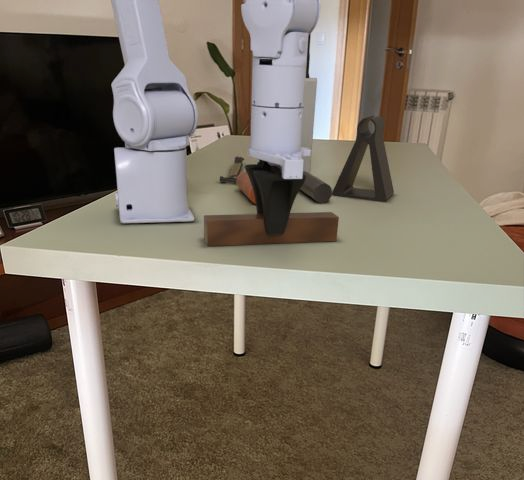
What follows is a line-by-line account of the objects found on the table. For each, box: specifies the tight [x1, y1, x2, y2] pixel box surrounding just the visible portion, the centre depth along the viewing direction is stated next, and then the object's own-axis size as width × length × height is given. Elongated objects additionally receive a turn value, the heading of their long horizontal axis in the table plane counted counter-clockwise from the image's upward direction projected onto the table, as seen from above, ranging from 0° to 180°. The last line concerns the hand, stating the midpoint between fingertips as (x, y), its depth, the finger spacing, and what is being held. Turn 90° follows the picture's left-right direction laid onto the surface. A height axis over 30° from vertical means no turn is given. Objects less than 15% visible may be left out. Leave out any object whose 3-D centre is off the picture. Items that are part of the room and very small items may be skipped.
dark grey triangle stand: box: [332, 115, 395, 203], centre depth 89 cm, size 9×6×12 cm, turn 66°
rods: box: [235, 171, 333, 205], centre depth 88 cm, size 13×10×3 cm
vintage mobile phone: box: [301, 33, 318, 174], centre depth 96 cm, size 4×5×25 cm
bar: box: [203, 211, 340, 247], centre depth 67 cm, size 16×2×3 cm, turn 104°
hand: (271, 229), depth 67 cm, fingers closed on bar, 2 cm apart
